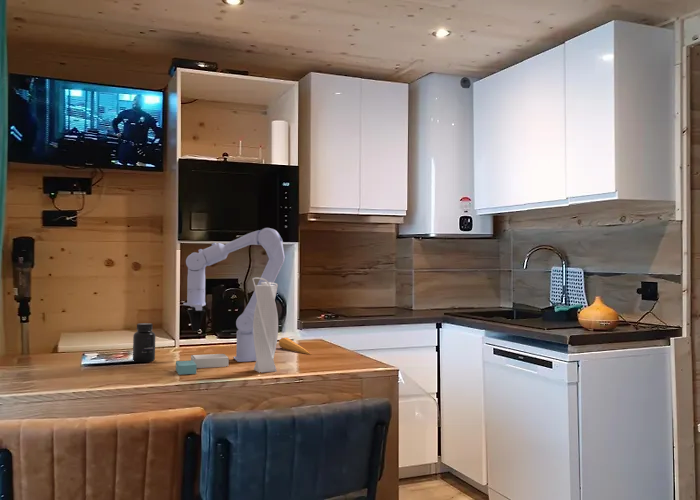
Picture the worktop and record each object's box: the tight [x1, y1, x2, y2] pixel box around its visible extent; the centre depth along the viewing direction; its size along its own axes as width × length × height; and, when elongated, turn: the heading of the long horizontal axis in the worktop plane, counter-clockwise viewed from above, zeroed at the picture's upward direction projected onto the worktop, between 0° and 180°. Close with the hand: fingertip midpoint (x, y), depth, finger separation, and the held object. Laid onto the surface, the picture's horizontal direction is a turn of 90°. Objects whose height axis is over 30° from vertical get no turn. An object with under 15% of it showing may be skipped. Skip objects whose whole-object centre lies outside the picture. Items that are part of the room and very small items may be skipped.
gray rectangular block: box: [190, 353, 229, 369], centre depth 194 cm, size 10×8×3 cm
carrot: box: [278, 337, 313, 355], centre depth 223 cm, size 20×4×4 cm, turn 38°
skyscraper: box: [251, 276, 279, 373], centre depth 186 cm, size 8×8×28 cm
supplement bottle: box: [132, 322, 156, 363], centre depth 200 cm, size 7×7×12 cm
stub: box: [175, 359, 197, 376], centre depth 182 cm, size 5×8×2 cm, turn 21°
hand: (195, 330), depth 204 cm, fingers closed
